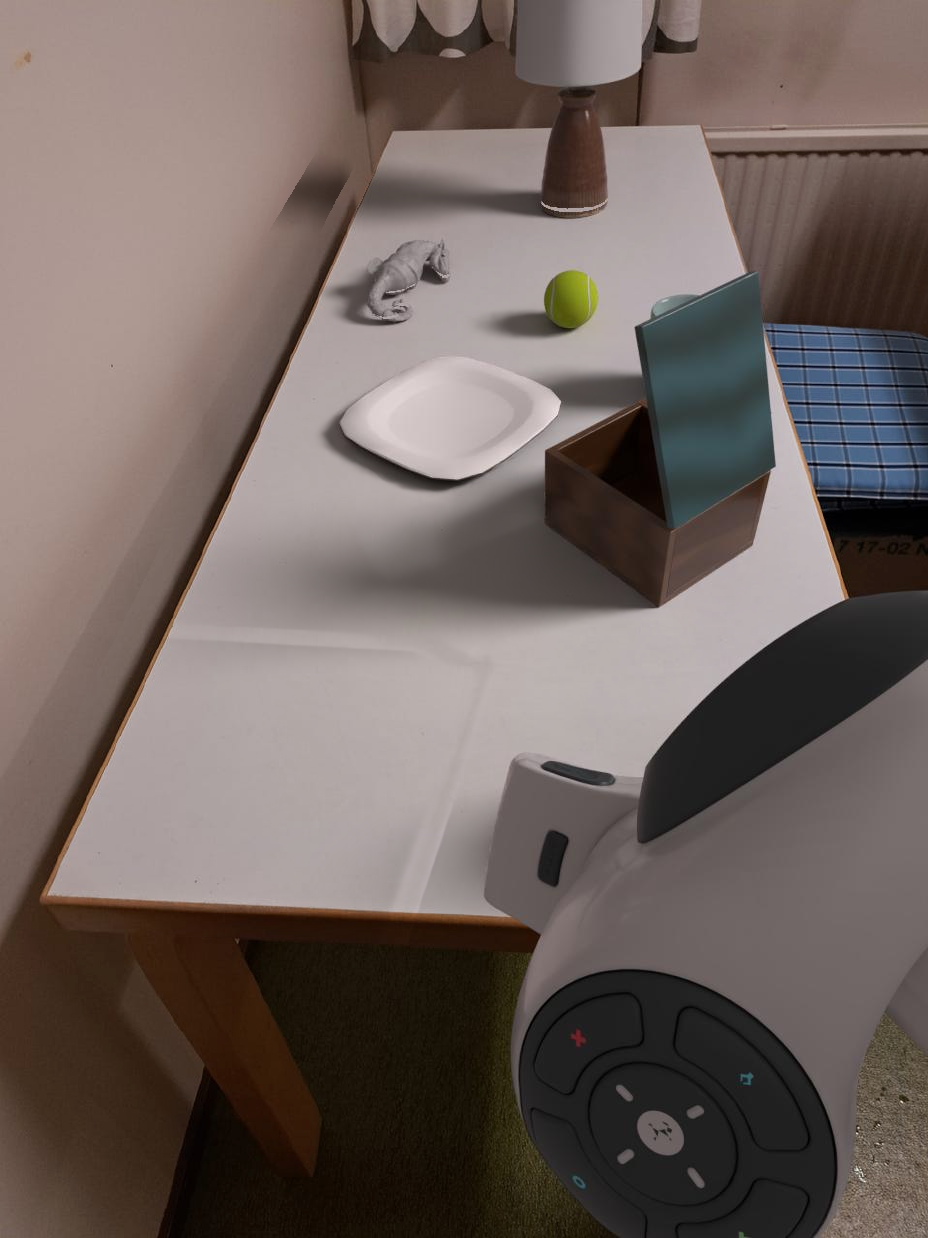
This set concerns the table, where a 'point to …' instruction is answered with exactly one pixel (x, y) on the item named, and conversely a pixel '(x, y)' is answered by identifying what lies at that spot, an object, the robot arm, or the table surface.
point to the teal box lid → (708, 396)
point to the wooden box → (640, 509)
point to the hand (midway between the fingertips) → (712, 819)
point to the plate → (450, 417)
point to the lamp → (577, 86)
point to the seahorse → (404, 274)
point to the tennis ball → (571, 299)
